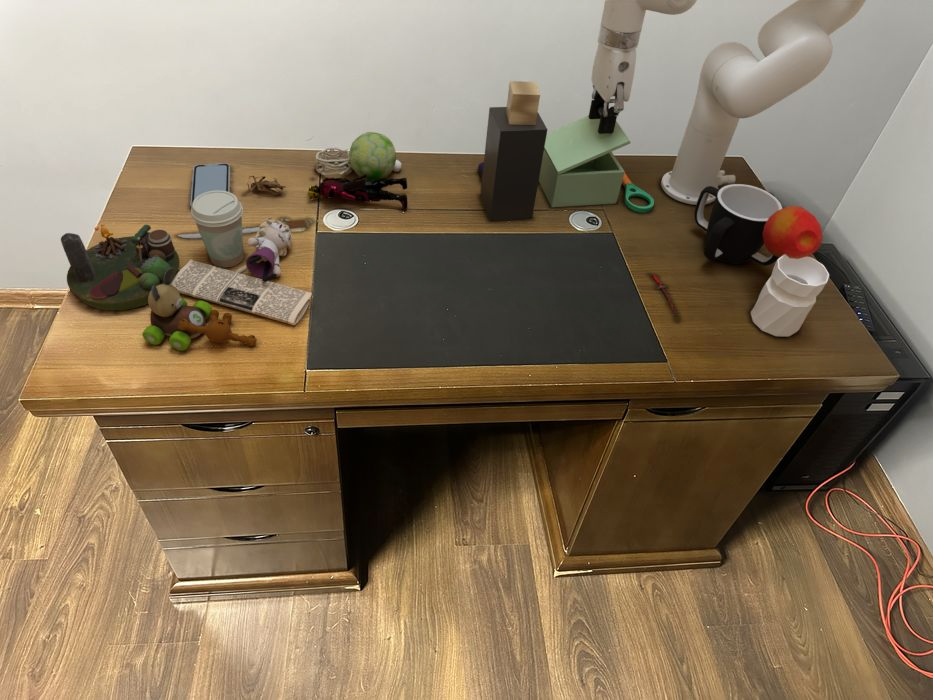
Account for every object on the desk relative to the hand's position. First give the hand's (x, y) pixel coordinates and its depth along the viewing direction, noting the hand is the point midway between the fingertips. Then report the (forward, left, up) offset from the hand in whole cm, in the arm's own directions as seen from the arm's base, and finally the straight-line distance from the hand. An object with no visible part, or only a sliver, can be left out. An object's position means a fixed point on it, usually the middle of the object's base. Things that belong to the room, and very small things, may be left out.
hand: (600, 124), depth 141 cm
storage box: (+3, 0, -15) cm, 15 cm away
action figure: (+50, 0, -15) cm, 52 cm away
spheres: (+42, -16, -14) cm, 47 cm away
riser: (+20, +6, -15) cm, 25 cm away
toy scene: (+92, +20, -15) cm, 95 cm away
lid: (+3, 0, -4) cm, 5 cm away
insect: (+69, -3, -11) cm, 70 cm away
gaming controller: (+19, -5, -15) cm, 24 cm away
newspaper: (+73, +27, -13) cm, 79 cm away
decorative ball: (+48, -5, -6) cm, 49 cm away
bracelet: (+58, -11, -13) cm, 60 cm away
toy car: (+82, +34, -15) cm, 90 cm away
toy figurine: (+76, +33, -13) cm, 83 cm away
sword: (+72, +11, -15) cm, 74 cm away
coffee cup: (+75, +16, -15) cm, 78 cm away
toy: (+72, +26, -11) cm, 77 cm away
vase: (-21, +45, -15) cm, 52 cm away
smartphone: (+79, -7, -15) cm, 81 cm away
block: (+19, +6, +5) cm, 21 cm away
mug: (-22, +25, -15) cm, 37 cm away
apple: (-21, +43, +1) cm, 48 cm away
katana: (-5, +38, -15) cm, 41 cm away
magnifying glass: (-9, +3, -15) cm, 18 cm away
